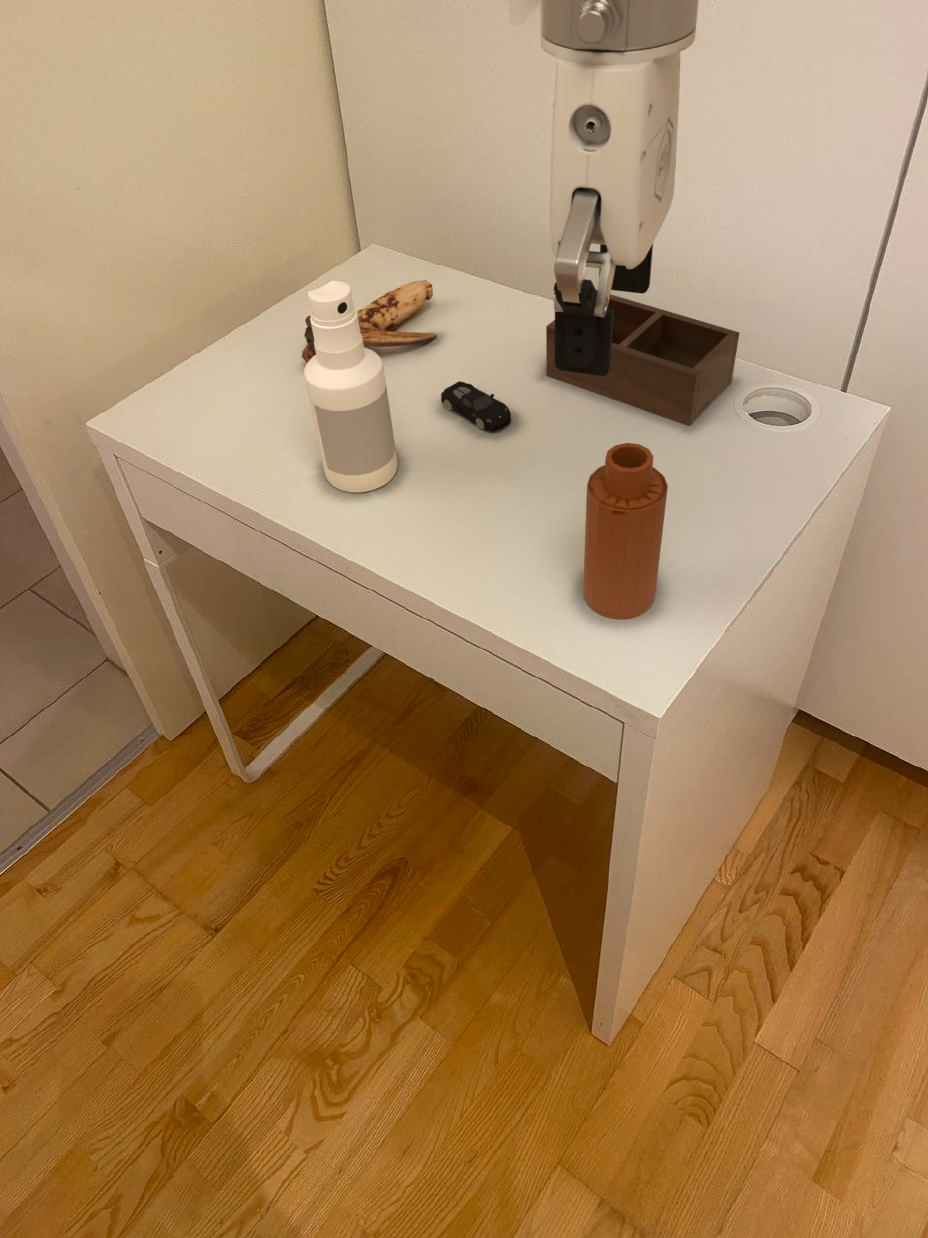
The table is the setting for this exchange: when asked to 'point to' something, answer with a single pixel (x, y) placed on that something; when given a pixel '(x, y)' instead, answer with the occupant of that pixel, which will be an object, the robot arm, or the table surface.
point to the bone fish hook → (386, 319)
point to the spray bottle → (348, 396)
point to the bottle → (623, 532)
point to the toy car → (476, 406)
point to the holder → (658, 361)
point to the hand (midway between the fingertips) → (604, 327)
